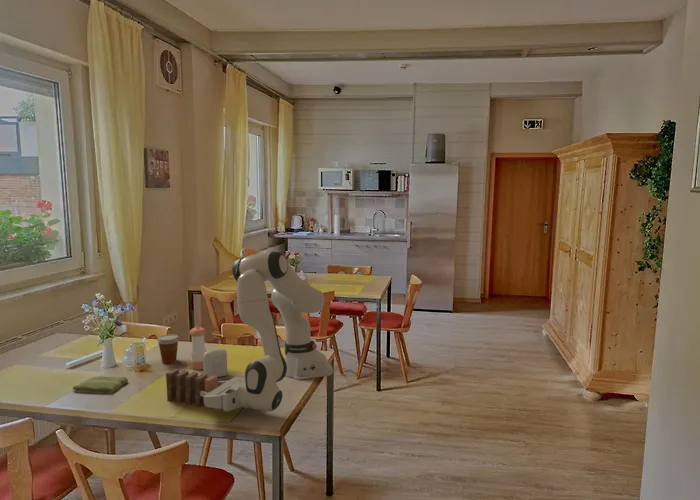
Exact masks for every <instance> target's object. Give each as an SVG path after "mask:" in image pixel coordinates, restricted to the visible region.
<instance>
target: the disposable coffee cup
mask: <svg viewBox="0 0 700 500" xmlns="http://www.w3.org/2000/svg"><path fill="white" fill-rule="evenodd" d="M179 339H180V338H179V336H178V335H177V334H174V333H173V334H171V333H170V334H164V335H161V336H158V339H157V343H158V347H159V353H160V358H161V362H162V364H165V365H169V364H170V365H171V364H174V363H176V362H177V359H178V358H177V357H178V345H179Z"/></svg>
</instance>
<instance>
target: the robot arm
mask: <svg viewBox="0 0 700 500" xmlns="http://www.w3.org/2000/svg"><path fill="white" fill-rule="evenodd" d="M231 273H232V276H233V278H234V280H235V281H236V282H237V283H236V301H237V302H236V303H237V311H238V312H237V313H238V315H239V318H240V320H241V321H242V322H243V323H244V324H245V325H246V326H248V327H252V328H253V329H255V331H257V333H258V334H259V336H260V339H261V344H262V349H263V358H260V359H256V360H253V361H251V362H249V363H248V365H246V368H245V369H244V371H245V372H244V377H240V376H234V377H232V378H231V379H229V380H217V381H218V387H217V388H216V389H214V390H212V391H211V392H208V393H206V391H204V390H203V391H201V392H200V396H202V397H204V405H203V406H205V407H206V406H207V407H211V409H217V410H223V411H224V412H230V411H232V410H235V409H240V408H251V409H253V410H256V411H261V412H273V411H275V410H276V409H278V407H279V406H280V405H281V403H282V399H283V392H282V390H281V389H280V388H279V386H278V384H277V383H279V382H281V381H282V380H283V379H284V378H285V376H286V377H289V378H293V379H295V380H299V381H300V380H307V379H314V378H315V379H316V378H321V377H322V378H323V377H329V376H331V375H333V373H334V368H333V366H332V364H330V363H329V362H328V359H327V357H326V355H325V354H324V353H323V352H321V351H320V350H318V349H317V347H318V346H317V344H316V342H315V341H314V340H311V323H310V322H309V321H308V319H306V318H305V317H304V315H303V313H305V314H313V313H314V314H315V313H319V312H320V311H322V309H323V307H324V305H325V296H324V293H323V292H322V291H321V290H319V289H317V288H315V287H313V286H312V285H311V284H309V283H307V281H305V280H304V279H302V277H300V275H298V274H297V273H296V271H295V270H294V268H293V267H292V265H291V264H290V262H289V261H288V259H287V257H286V256H285V254H283V253H282V252H281V251H279V250H277V249H274V248H269V249H266V250H264V251H263V252H260V253H255V254H250V255H247V256H241V257H238V258H237V259H235V260H234V261H233V265H232V269H231ZM267 281H268V282H269V283H270V285H271V286H272V288H273V290H272V291H271V295H270V296H271V298H270V299H271V303H272V305H273V306H274V307H275V308H277V310H278V311H279V313H280V315H281V317H282V320H283V324H284V334H285V341H284V346H283V347H284V351H283V352H284V354H285V356H283V354H282V351H281V350H282V349H281V345H280V342H279V341H280V340H279V337H278V333H277V327H276V324H275V321H274V318H273V316H272V313H271V310H270V304H269V298H268V297H269V296H268V292H267V291H268V290H267V287H266V283H265V282H267Z"/></svg>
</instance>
